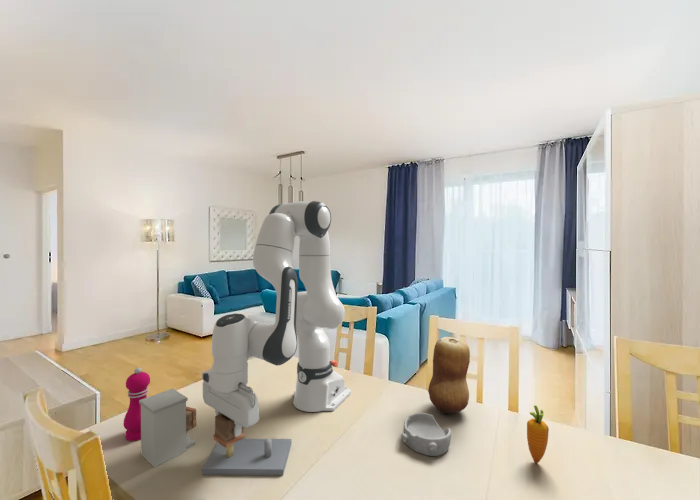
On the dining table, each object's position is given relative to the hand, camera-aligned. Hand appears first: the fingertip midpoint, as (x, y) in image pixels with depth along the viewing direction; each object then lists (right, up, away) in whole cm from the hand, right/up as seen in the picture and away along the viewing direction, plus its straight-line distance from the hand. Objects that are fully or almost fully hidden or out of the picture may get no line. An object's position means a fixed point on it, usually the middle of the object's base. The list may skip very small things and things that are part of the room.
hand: (229, 430), depth 84 cm
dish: (+54, -9, +10) cm, 55 cm away
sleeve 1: (-20, -7, +14) cm, 25 cm away
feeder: (-18, -8, +4) cm, 20 cm away
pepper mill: (-31, -7, +11) cm, 33 cm away
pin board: (+5, -8, +1) cm, 10 cm away
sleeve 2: (0, -2, 0) cm, 2 cm away
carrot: (+81, -10, +2) cm, 82 cm away
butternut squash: (+65, -9, +27) cm, 71 cm away
